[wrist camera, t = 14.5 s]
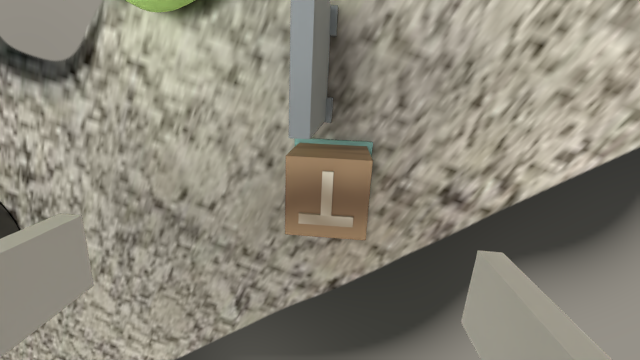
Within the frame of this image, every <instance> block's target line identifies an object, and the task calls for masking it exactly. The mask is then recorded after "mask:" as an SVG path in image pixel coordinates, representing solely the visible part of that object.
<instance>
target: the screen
mask: <svg viewBox="0 0 640 360" xmlns="http://www.w3.org/2000/svg"><path fill="white" fill-rule="evenodd" d="M337 17H338V6H336V5H330V0H291V25H290V90H289V138H295V139H310V138H311V137H312V136H313V135H314V133H315V132H316V131H317V130H318V129H319V127H320V126H321V125H322V124H323V123H324V122H327V123H331V122H332V108H333V98H329V97H327V89H328V69H329V49H330V36H336V35H337Z"/></svg>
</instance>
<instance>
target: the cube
mask: <svg viewBox="0 0 640 360" xmlns="http://www.w3.org/2000/svg"><path fill="white" fill-rule="evenodd" d="M372 163H373V160H372V158H371V155H370V153H369V150H368V148H367V146H352V145H334V144H315V143H298V144H297V145H296V146H295V147H294V148H293V149H292V150H291V151H290V152H289V153H288V154H287V155H286V195H285V234H289V235H302V236H315V237H328V238H341V239H354V240H365V239H366V229H367V218H368V207H369V196H370V185H371V174H372Z"/></svg>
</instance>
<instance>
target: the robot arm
mask: <svg viewBox="0 0 640 360" xmlns="http://www.w3.org/2000/svg"><path fill="white" fill-rule="evenodd" d="M93 286H94V283H93V277H92V272H91V266H90V260H89V254H88V249H87V243H86V237H85V231H84V225H83V220H82V215H72V214H58V215H55V216H53V217H51V218H48V219H46V220H44V221H41V222H39V223H36V224H34V225H32V226H29V227H27V228H25V229H22V230H20V231H19V229H18V227H17V225H16V224H15V222H14V220H13V219H12V217H11V216H10V215H9V213H8V212H7V211H6V210H5V209H4V207H3V206H2V205H1V204H0V358H1V357H2V356H3V355H4V354H6V353H7V352H8V351H10V350H11V349H12V348H13V347H15V346H16V345H17V344H19V343H20V342H21V341H23V340H24V339H25V338H26V337H28V336H29V335H30V334H32V333H33V332H34V331H36V330H37V329H38V328H39V327H41V326H42V325H43V324H45V323H46V322H47V321H48V320H50V319H51V318H52V317H54V316H55V315H56V314H58V313H59V312H60V311H61V310H63V309H64V308H65V307H67V306H68V305H69V304H71V303H72V302H73V301H74V300H76V299H77V298H78V297H80V296H81V295H82V294H83V293H85V292H86V291H87V290H89V289H90V288H91V287H93ZM461 323H462V325H463V327H464V329H465V331H466V333H467V335H468V336H469V338H470V340H471V342H472V344H473V346H474V348H475V350H476V352H477V354H478V355H479V357H480V359H481V360H612V359H611V358H610V357H609V356H608V355H607V354H606V353H605V352H604V351H603V350H602V349H601V348H600V347H599V346H598V345H597V344H596V343H594V342H593V340H591V339H590V338H589V337H588V336H587V335H586V334H585V333H584V332H583V331H582V330H581V329H580V328H579V327H578V326H577V325H576V324H575V323H574V322H573V321H572V320H571V319H570V318H569V317H568V316H567V315H566V314H565V313H564V312H563V311H562V310H561V309H560V308H559V307H558V306H557V305H556V304H555V303H554V302H553V301H552V300H550V298H548V297H547V296H546V295H545V294H544V293H543V292H542V291H541V290H540V289H539V288H538V287H537V286H536V285H535V284H534V283H533V282H532V281H531V280H530V279H529V278H528V277H527V276H526V275H525V274H524V273H523V272H522V271H521V270H520V269H519V268H518V267H517V266H516V265H515V264H514V263H513V262H512V261H511V260H510V259H509V258H507V256H506V255H505V254H503V253H500V252H489V251H478V252H477V257H476V261H475V265H474V269H473V273H472V278H471V282H470V286H469V291H468V295H467V299H466V303H465V307H464V312H463V316H462V320H461Z"/></svg>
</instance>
